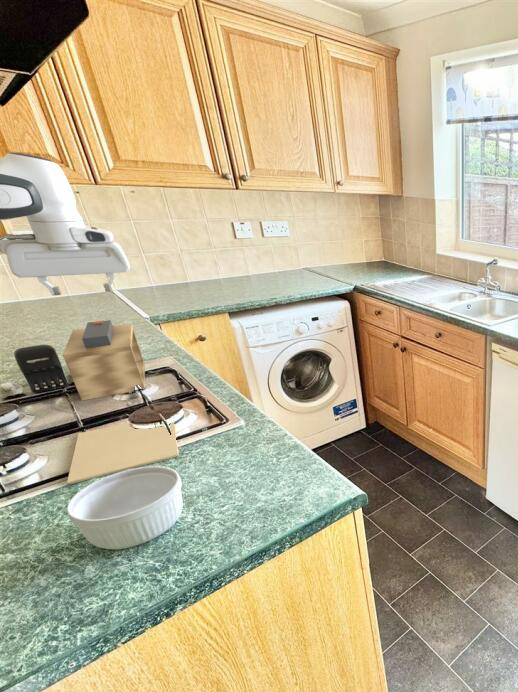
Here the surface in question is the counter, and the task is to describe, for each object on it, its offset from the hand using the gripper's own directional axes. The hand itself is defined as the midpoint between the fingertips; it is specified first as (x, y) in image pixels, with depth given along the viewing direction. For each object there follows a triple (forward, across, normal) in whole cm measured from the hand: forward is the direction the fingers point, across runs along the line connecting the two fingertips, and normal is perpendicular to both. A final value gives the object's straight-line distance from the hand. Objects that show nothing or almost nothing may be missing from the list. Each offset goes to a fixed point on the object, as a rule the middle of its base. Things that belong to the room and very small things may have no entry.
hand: (84, 293), depth 103 cm
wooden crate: (+24, 0, 0) cm, 24 cm away
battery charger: (+24, -12, +1) cm, 27 cm away
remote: (+12, 0, 0) cm, 12 cm away
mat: (+24, +3, -40) cm, 47 cm away
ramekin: (+24, +5, -69) cm, 73 cm away
